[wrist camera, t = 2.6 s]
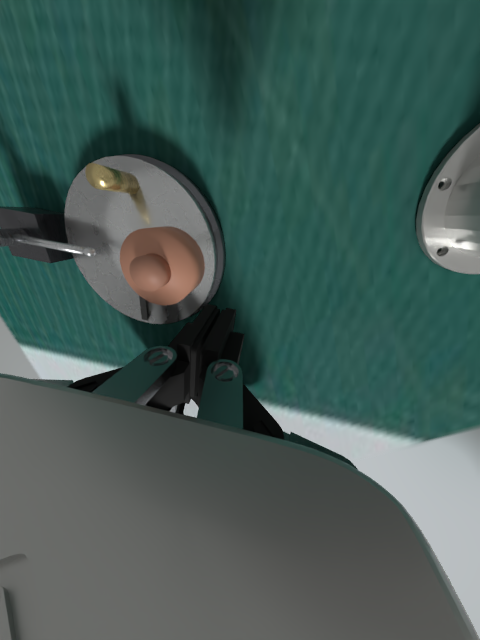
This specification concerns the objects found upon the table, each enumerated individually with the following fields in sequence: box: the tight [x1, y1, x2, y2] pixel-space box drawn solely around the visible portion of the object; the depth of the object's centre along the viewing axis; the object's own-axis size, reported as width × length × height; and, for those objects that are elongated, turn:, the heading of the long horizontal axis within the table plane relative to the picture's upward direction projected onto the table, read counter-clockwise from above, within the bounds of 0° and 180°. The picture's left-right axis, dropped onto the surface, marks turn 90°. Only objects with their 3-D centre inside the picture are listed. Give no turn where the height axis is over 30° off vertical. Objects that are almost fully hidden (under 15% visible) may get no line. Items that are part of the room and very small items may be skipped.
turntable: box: [65, 156, 218, 324], centre depth 20 cm, size 17×17×6 cm
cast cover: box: [120, 226, 205, 305], centre depth 19 cm, size 7×7×5 cm
